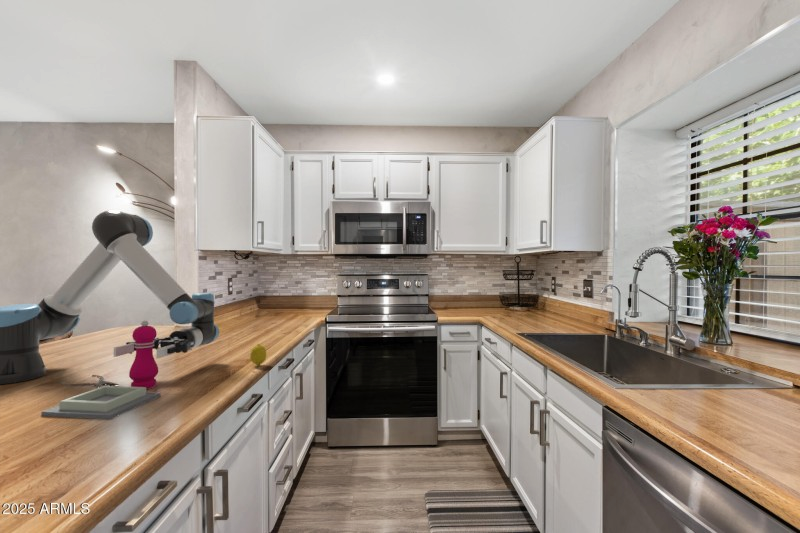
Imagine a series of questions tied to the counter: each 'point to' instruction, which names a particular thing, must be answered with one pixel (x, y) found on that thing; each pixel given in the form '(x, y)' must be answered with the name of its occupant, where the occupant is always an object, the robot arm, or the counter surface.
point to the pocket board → (102, 402)
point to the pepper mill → (144, 357)
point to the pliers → (100, 384)
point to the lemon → (258, 354)
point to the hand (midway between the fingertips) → (136, 352)
